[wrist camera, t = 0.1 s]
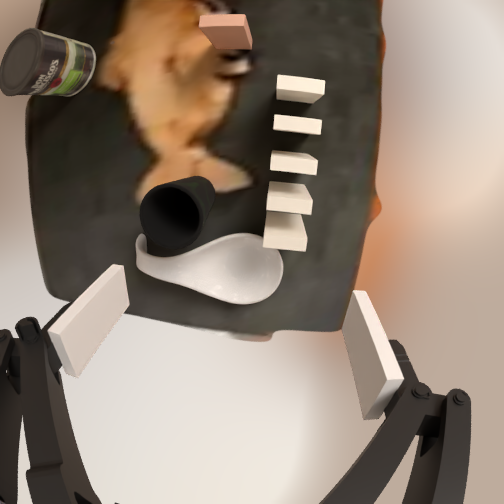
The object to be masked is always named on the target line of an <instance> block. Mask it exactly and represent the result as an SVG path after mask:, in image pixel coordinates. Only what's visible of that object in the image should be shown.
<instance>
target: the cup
mask: <svg viewBox="0 0 504 504" xmlns="http://www.w3.org/2000/svg"><path fill="white" fill-rule="evenodd" d="M214 200H215V189H214V187H213V185H212V184H211V182H210V181H209V180H207V179H206V178H204V177H201V176H193V177H189V178H185V179H181V180H177V181H173V182H169V183H165V184H162V185H158V186H156V187H154V188H152V189H151V190H150V191H149V192H148V193H147V194H146V195H145V197H144V198H143V200H142V203H141V207H140V221H141V225H142V227H143V229H144V231H145V233H146V234H147V236H148V237H149V238H150V239H151V240H152V241H153V242H155V243H156V244H158V245H160V246H161V247H165V248H168V249H180V248H184V247H186V246H188V245H190V244H191V243H193V242H194V241H195V240H196V239H197V237H198V236H199V234H200V232H201V230H202V228H203V225H204V223H205V221H206V219H207V216H208V214H209V212H210V209H211V207H212V205H213V203H214Z"/></svg>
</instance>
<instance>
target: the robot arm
mask: <svg viewBox="0 0 504 504" xmlns="http://www.w3.org/2000/svg"><path fill="white" fill-rule="evenodd" d="M128 306H129V299H128V293H127V287H126V280H125V273H124V266H121V265H114V264H113V265H112V266H110V267H109V268H108V269H107V270H106V271H105V272H104V273H103V274H102V275H101V276H100V277H99V278H98V279H97V280H96V281H95V282H94V283H93V284H92V285H91V286H90V287H89V288H88V289H87V290H86V291H85V292H84V293H83V294H82V295H81V296H80V297H79V298H78V299H77V300H76V301H75V302H70V303H68V304H67V305H65V306H63V307H62V308H61V309H60V310H59V312H58V313H57V314H56V315H55V316H54V317H53V318H52V319H51V320H50V321H49V322H48V323H47V324H46V325H45V326H44V327H43V328H42V329H40V326H39V324H38V321H37V319H36V318H34V317H26V318H23V319H21V320H20V321H18V323H17V324H16V326H15V329H16V332H17V334H18V336H19V338H13V337H12V334H11V332H10V331H9V330H7V329H3V330H0V504H17V496H18V494H17V493H18V453H19V440H20V429H21V422H22V415H23V422H24V431H25V437H26V444H27V450H28V456H29V461H30V469H29V470H27V471H26V479H27V483H28V487H29V491H30V495H31V499H32V502H33V504H102V503H101V501H100V500H99V498H98V497H97V495H96V494H95V492H94V491H93V489H92V487H91V484H90V482H89V479H88V476H87V474H86V471H85V468H84V465H83V462H82V459H81V456H80V453H79V450H78V447H77V444H76V440H75V437H74V433H73V429H72V425H71V421H70V418H69V413H68V409H67V404H66V400H65V395H64V390H63V385H62V379H61V374H60V372H59V369H60V368H61V366H63V368H64V370H65V372H66V374H68V375H71V376H74V377H76V378H78V377H79V376H80V374H81V372H82V371H83V370H84V368H85V367H86V365H87V364H88V362H89V361H90V359H91V358H92V356H93V355H94V353H95V352H96V351H97V349H98V348H99V346H100V345H101V343H102V342H103V340H104V339H105V338H106V336H107V335H108V333H109V332H110V331H111V329H112V328H113V326H114V325H115V324H116V322H117V321H118V320H119V318H120V317H121V316H122V314H123V313H124V312H125V310H126V309H127V307H128ZM342 332H343V336H344V340H345V344H346V347H347V351H348V355H349V359H350V363H351V367H352V371H353V375H354V380H355V384H356V388H357V392H358V397H359V401H360V405H361V410H362V415H363V419H364V420H370V419H379V418H380V417H381V415H382V414H383V412H385V416H386V419H385V420H384V422H383V423H382V425H381V426H380V427H379V429H378V430H377V432H376V434H375V435H374V437H373V438H372V440H371V441H370V442H369V444H368V445H367V447H366V448H365V449H364V451H363V452H362V453H361V455H360V456H359V457H358V459H357V460H356V461H355V463H354V464H353V465H352V466H351V468H350V469H349V470H348V471H347V473H346V474H345V475H344V476H343V478H342V479H341V480H340V481H339V482H338V483H337V484H336V486H335V487H334V488H333V489H332V490H331V491H330V492H329V494H328V495H327V496H326V497H325V498H324V499H323V500H322V501H321V502H320V503H319V504H374V502H375V501H376V500H377V498H378V497H379V495H380V494H381V492H382V491H383V489H384V488H385V486H386V485H387V483H388V482H389V480H390V478H391V477H392V475H393V474H394V472H395V471H396V469H397V467H398V466H399V464H400V462H401V460H402V459H403V457H404V455H405V454H406V452H407V450H408V448H409V446H410V444H411V442H412V441H413V439H414V437H415V435H419V441H418V446H417V451H416V455H415V459H414V463H413V468H412V472H411V475H410V479H409V482H408V486H407V489H406V493H405V496H404V499H403V502H402V504H463V500H464V494H465V489H466V482H467V475H468V466H469V455H470V440H471V400H470V397H469V396H468V394H467V393H466V392H465V391H463V390H461V389H452V390H451V391H450V392H449V393H448V394H447V395H446V396H444V395H439V394H433V393H432V391H431V390H430V388H429V387H428V386H427V385H425V384H424V383H421V382H419V381H418V378H417V376H416V374H415V372H414V370H413V367H412V365H411V362H410V361H409V358H408V356H407V355H406V351H405V349H404V347H403V346H402V345H401V344H400V343H399V342H398V341H397V340H388V339H387V336H386V334H385V332H384V330H383V327H382V325H381V323H380V321H379V318H378V316H377V314H376V312H375V310H374V308H373V306H372V303H371V301H370V299H369V297H368V295H367V293H366V291H358V290H357V291H356V290H353V292H352V296H351V299H350V303H349V306H348V310H347V313H346V317H345V320H344V323H343V327H342ZM6 370H7V373H6ZM115 504H118V503H115Z"/></svg>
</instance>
